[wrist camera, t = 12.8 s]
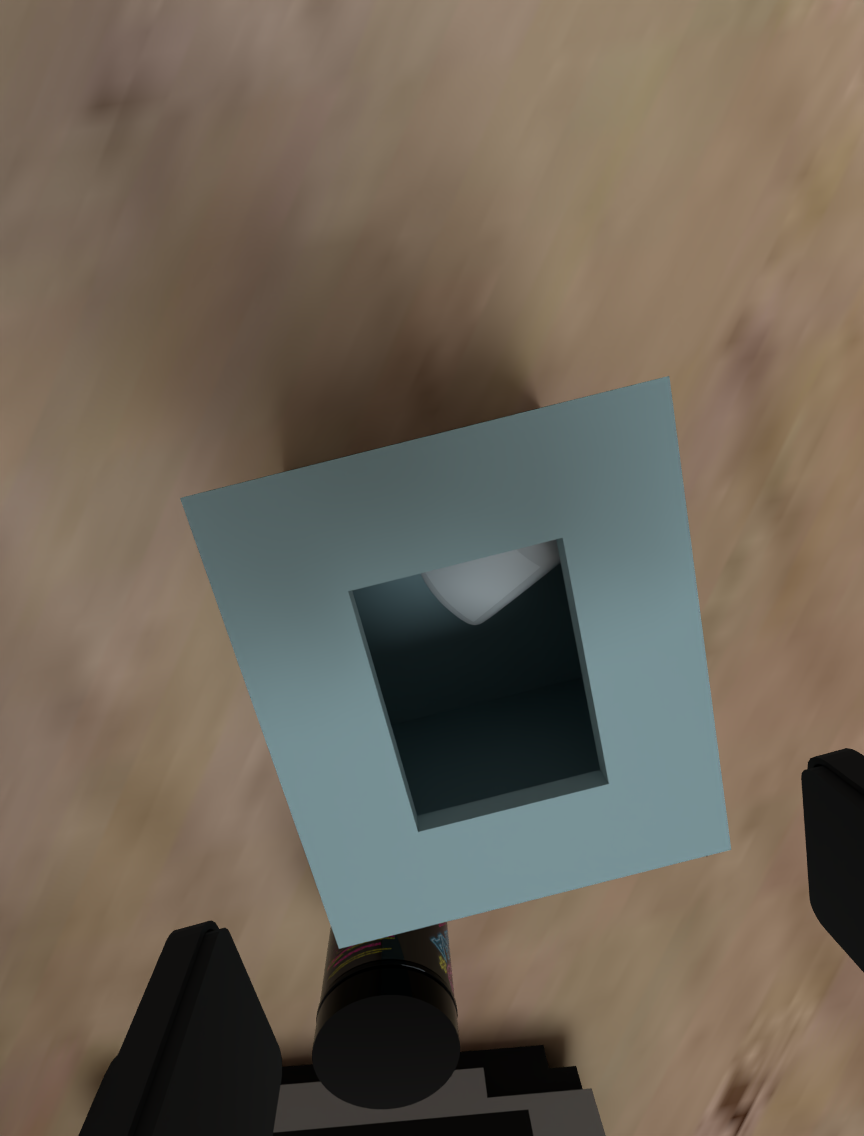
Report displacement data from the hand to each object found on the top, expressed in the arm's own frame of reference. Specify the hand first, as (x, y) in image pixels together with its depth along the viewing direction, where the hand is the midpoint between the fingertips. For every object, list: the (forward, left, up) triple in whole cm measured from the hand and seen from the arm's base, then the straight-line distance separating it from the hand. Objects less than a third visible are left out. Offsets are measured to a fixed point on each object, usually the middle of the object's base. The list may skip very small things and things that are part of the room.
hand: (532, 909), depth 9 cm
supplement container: (+19, -7, -23) cm, 30 cm away
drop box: (+1, 0, -23) cm, 22 cm away
